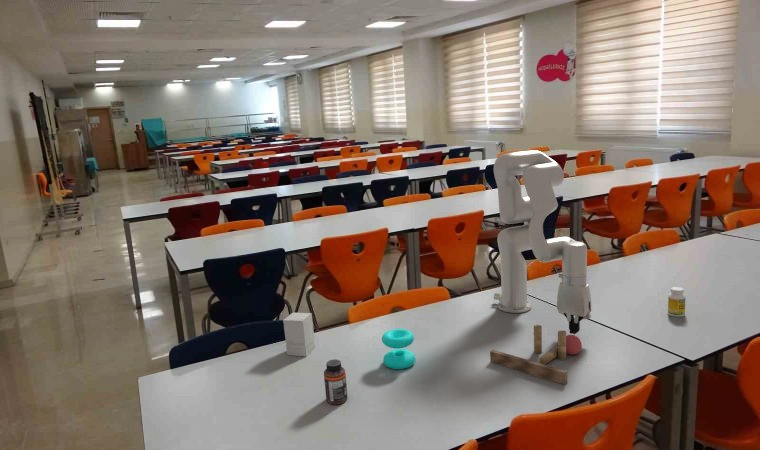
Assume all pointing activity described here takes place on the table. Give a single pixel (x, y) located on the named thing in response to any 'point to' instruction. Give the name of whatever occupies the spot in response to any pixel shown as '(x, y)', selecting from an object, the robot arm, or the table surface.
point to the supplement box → (299, 334)
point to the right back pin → (562, 345)
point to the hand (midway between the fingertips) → (574, 332)
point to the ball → (573, 344)
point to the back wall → (529, 367)
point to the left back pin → (537, 338)
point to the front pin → (549, 356)
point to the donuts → (398, 356)
